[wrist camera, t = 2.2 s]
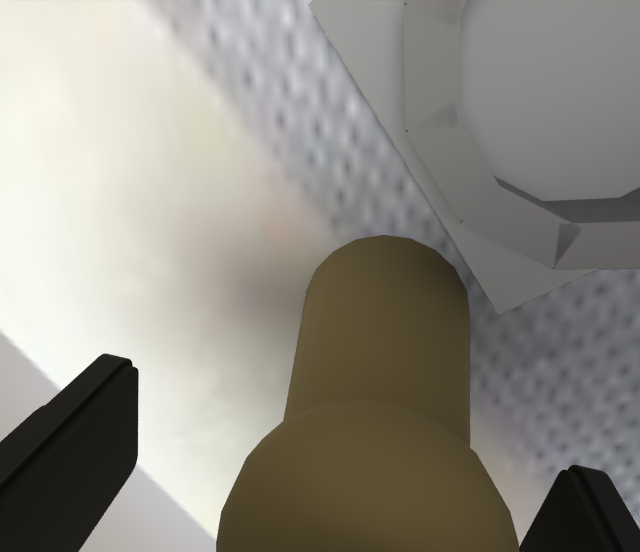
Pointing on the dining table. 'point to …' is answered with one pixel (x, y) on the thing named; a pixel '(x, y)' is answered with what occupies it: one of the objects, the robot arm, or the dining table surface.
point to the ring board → (509, 126)
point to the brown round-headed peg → (373, 420)
